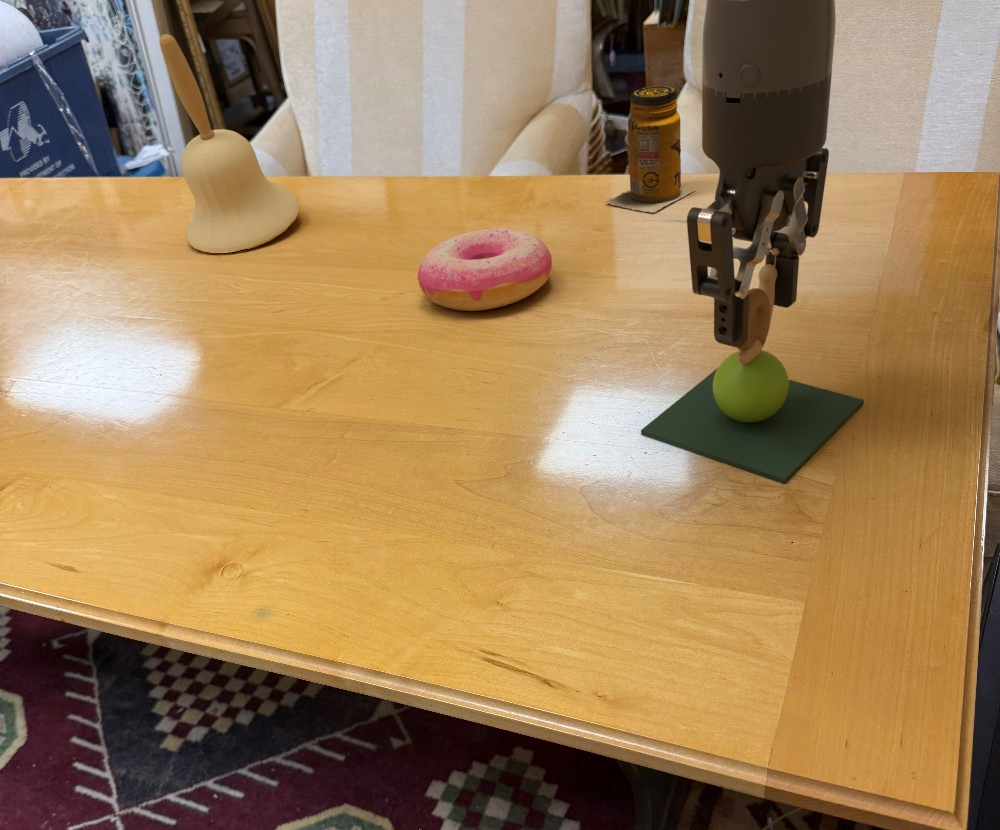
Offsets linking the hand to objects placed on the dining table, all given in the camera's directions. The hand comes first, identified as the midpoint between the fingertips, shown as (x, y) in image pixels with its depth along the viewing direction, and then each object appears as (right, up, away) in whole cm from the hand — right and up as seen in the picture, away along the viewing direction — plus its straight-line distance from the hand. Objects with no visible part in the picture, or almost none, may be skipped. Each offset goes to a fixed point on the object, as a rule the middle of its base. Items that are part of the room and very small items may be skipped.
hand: (755, 322), depth 65 cm
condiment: (0, +24, +46) cm, 51 cm away
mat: (+1, -7, +5) cm, 8 cm away
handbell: (-51, +22, +55) cm, 79 cm away
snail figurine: (+1, -6, +5) cm, 8 cm away
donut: (-19, +9, +30) cm, 37 cm away
